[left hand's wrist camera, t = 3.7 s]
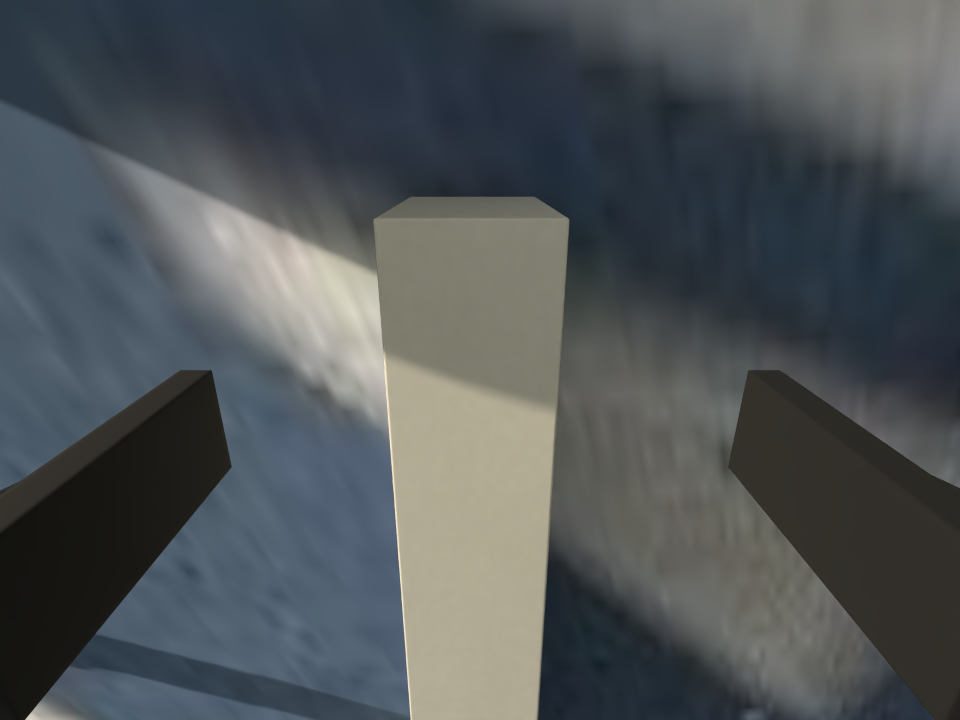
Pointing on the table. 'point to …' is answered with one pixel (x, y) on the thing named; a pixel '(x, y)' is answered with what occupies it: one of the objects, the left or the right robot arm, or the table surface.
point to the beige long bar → (472, 441)
